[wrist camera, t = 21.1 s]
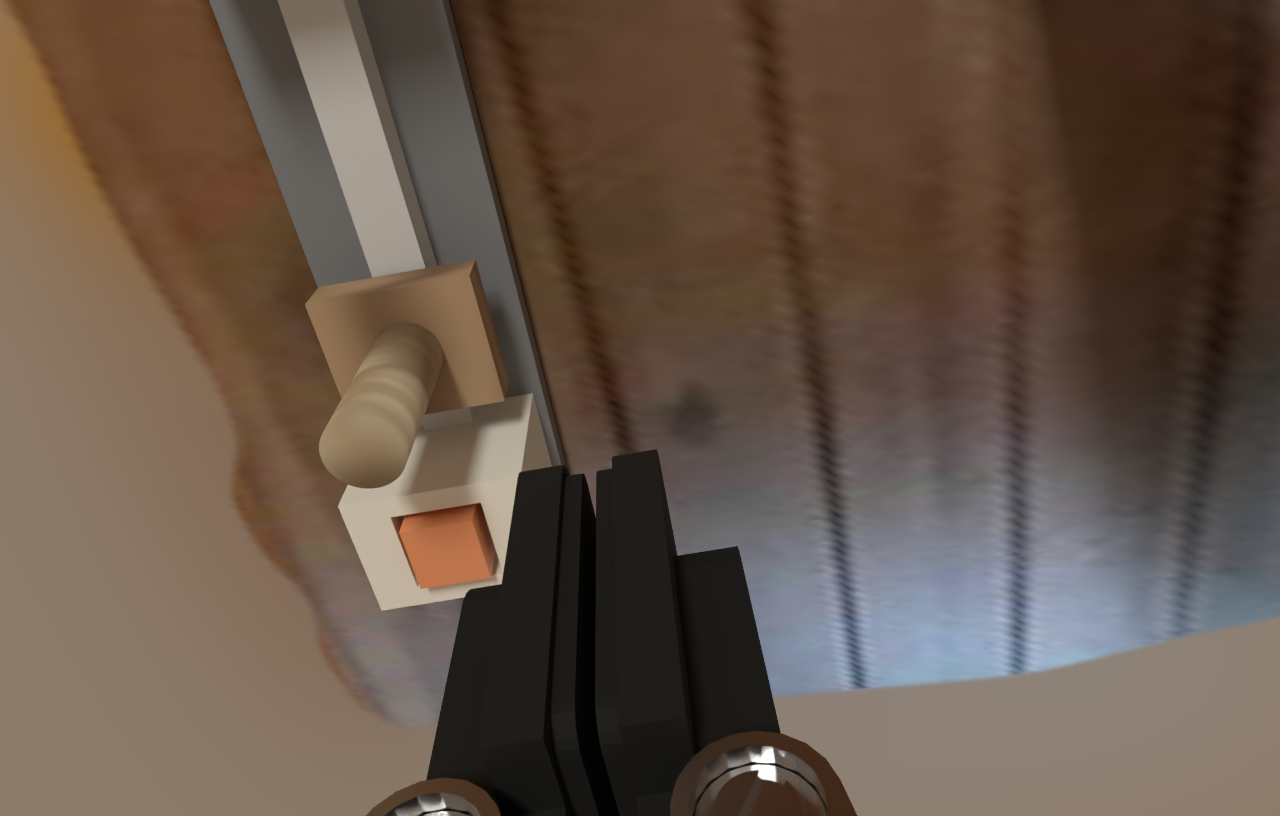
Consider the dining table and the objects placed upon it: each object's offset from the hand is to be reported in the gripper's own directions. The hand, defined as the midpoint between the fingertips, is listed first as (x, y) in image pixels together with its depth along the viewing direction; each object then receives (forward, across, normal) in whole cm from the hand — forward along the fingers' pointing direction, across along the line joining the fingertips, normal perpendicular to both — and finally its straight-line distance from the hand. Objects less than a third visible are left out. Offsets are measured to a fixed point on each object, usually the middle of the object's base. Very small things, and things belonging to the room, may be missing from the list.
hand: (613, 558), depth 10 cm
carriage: (+27, +10, +7) cm, 30 cm away
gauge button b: (+25, +10, +16) cm, 31 cm away
